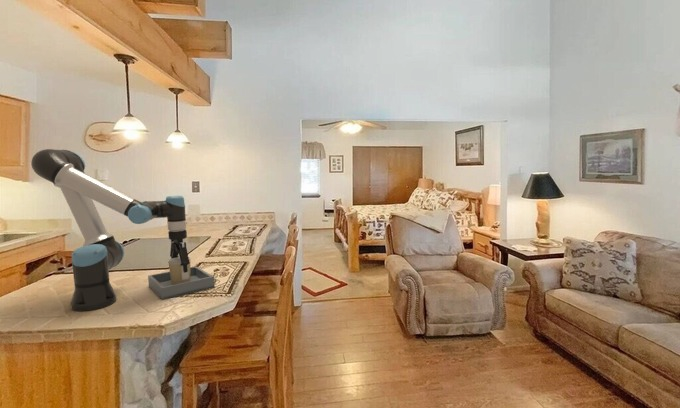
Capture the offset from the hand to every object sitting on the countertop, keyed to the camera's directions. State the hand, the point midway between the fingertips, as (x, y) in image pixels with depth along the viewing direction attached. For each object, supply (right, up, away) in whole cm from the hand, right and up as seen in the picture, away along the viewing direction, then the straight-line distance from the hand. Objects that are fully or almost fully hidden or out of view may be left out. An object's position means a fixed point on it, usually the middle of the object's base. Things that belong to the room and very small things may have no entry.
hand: (180, 275), depth 165 cm
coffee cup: (0, -4, +1) cm, 4 cm away
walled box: (0, -5, +1) cm, 5 cm away
